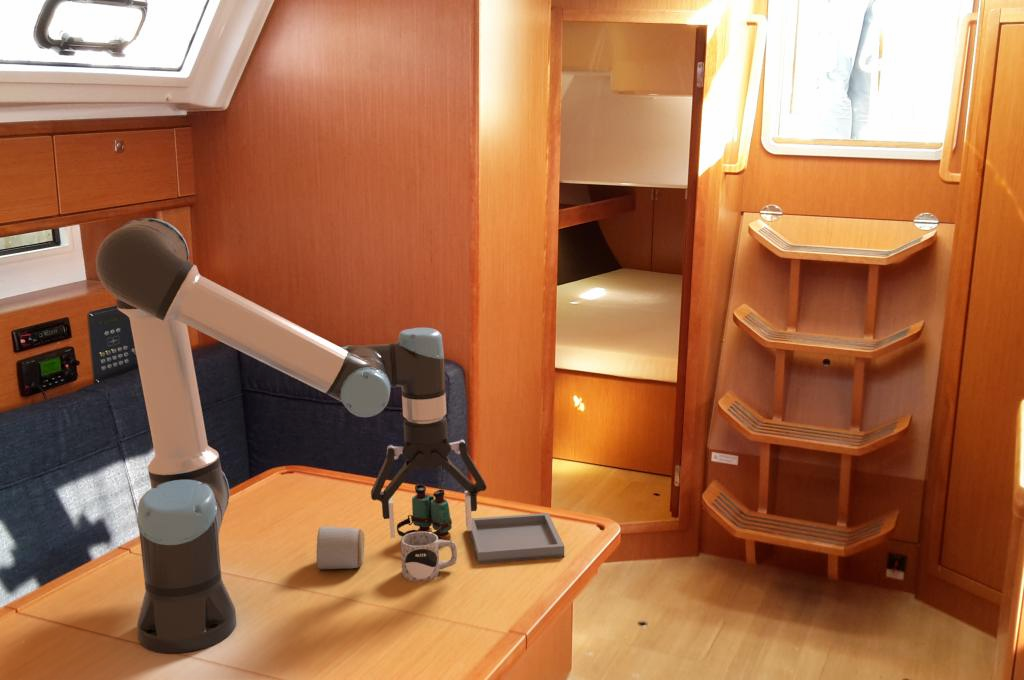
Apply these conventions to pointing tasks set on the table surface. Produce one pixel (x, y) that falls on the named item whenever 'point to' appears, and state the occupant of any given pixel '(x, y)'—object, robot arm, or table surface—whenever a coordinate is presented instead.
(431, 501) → the binoculars
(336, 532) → the ceramic mug
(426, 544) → the mug
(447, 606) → the table surface
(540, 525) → the tray
